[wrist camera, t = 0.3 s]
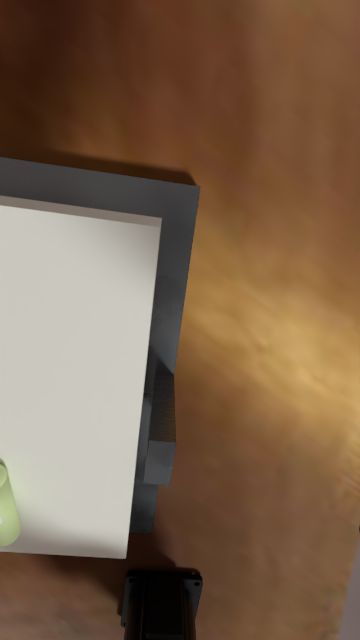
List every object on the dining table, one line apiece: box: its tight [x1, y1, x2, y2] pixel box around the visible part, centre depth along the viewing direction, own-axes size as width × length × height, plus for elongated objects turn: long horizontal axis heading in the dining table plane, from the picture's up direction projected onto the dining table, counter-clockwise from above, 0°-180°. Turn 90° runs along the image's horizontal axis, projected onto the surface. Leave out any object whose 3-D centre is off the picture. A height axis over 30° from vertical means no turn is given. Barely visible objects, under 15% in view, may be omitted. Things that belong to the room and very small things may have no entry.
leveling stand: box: [0, 157, 200, 534], centre depth 18 cm, size 25×17×8 cm, turn 172°
